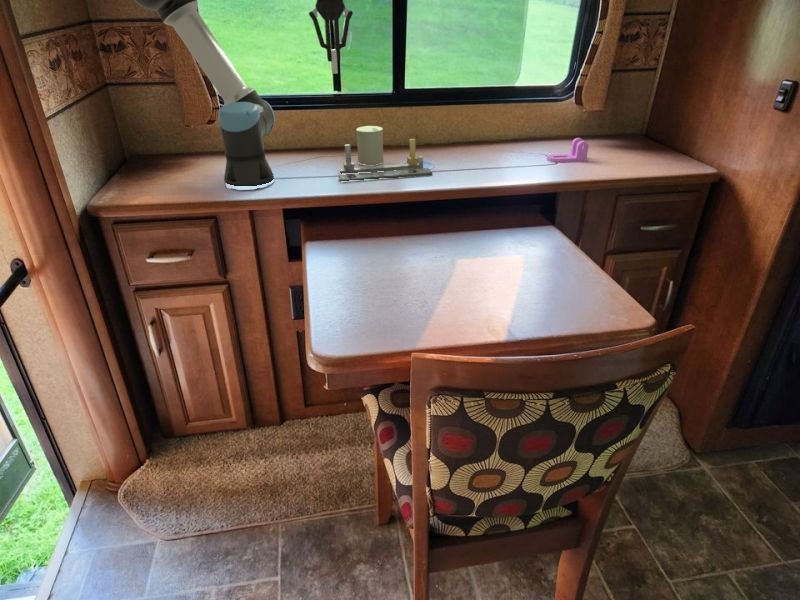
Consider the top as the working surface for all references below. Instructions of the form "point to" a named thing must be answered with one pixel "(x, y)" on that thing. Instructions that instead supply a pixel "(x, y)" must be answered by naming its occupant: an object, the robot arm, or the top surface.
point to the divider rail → (350, 166)
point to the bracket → (572, 153)
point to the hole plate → (387, 174)
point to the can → (370, 145)
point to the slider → (412, 154)
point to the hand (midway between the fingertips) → (334, 73)
